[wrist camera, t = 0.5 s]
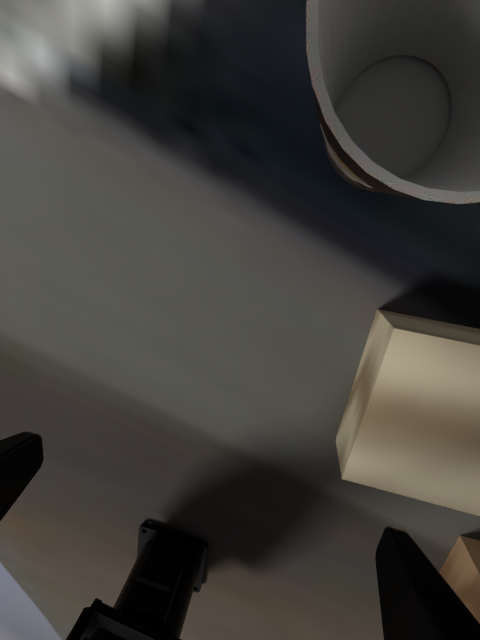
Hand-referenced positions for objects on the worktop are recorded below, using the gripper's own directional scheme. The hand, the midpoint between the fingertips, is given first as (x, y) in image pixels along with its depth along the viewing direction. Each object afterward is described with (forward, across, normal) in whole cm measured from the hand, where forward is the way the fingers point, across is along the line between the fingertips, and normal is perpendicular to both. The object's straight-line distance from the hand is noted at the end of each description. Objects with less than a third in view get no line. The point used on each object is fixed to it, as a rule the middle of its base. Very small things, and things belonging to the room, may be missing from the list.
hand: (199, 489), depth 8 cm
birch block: (+14, -12, +3) cm, 19 cm away
